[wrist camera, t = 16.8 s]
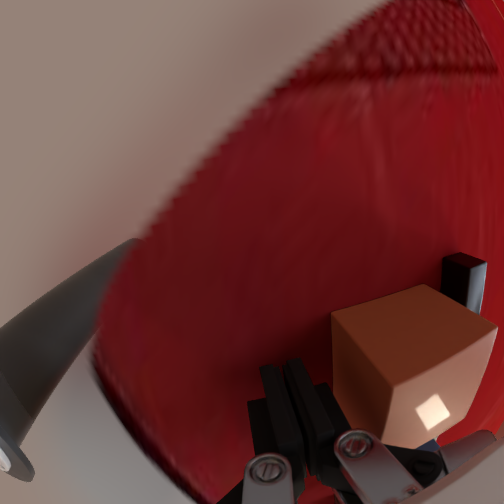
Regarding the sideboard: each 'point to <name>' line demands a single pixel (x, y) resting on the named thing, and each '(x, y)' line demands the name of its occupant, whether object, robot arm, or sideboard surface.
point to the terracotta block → (408, 364)
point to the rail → (464, 281)
